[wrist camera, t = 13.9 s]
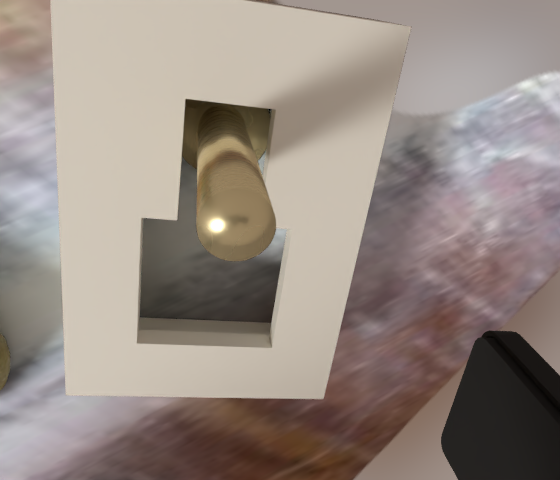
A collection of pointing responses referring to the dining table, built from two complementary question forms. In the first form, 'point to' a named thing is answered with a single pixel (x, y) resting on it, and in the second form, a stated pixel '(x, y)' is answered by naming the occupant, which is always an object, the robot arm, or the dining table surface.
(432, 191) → the dining table surface
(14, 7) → the dining table surface
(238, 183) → the bolt
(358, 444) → the dining table surface
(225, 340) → the keyhole box
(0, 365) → the pastry
